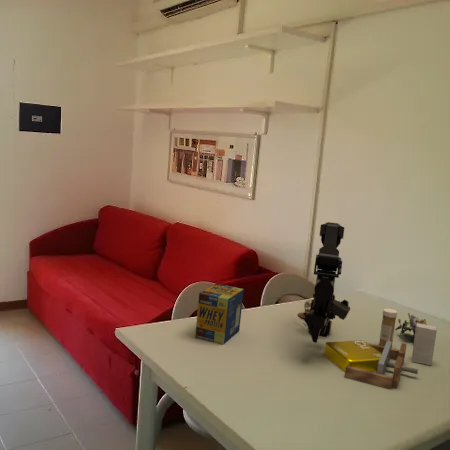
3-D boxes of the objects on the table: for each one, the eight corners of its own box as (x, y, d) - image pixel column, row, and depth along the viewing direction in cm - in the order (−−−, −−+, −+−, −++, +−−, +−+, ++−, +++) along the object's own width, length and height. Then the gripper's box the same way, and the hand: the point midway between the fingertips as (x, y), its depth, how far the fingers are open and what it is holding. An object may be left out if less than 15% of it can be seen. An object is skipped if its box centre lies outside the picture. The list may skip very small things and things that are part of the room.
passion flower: (418, 357, 180) (426, 338, 171) (388, 344, 184) (394, 325, 176) (426, 333, 186) (434, 314, 178) (397, 322, 191) (404, 303, 182)
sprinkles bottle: (394, 349, 170) (400, 311, 168) (386, 351, 167) (391, 313, 166) (383, 344, 174) (389, 307, 172) (375, 346, 171) (380, 308, 169)
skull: (335, 320, 192) (320, 301, 190) (313, 336, 192) (298, 317, 190) (326, 309, 204) (312, 291, 202) (305, 324, 204) (291, 306, 202)
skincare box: (430, 361, 162) (436, 326, 161) (431, 366, 158) (437, 330, 157) (411, 357, 164) (416, 322, 162) (411, 361, 160) (416, 326, 158)
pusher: (375, 381, 142) (378, 363, 142) (384, 356, 162) (387, 340, 161) (414, 391, 138) (417, 372, 137) (419, 364, 158) (421, 348, 157)
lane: (344, 376, 144) (347, 357, 143) (359, 349, 167) (361, 332, 166) (396, 390, 138) (399, 370, 138) (404, 360, 161) (407, 342, 160)
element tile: (321, 354, 161) (323, 340, 160) (360, 352, 166) (362, 338, 165) (347, 375, 147) (349, 359, 146) (389, 371, 152) (391, 357, 151)
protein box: (194, 338, 164) (198, 292, 161) (213, 324, 178) (216, 283, 176) (223, 345, 160) (228, 299, 158) (240, 331, 174) (244, 288, 172)
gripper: (343, 303, 145) (337, 353, 148) (355, 289, 162) (349, 335, 164) (306, 295, 150) (301, 344, 152) (321, 283, 167) (316, 327, 169)
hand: (318, 338), depth 159 cm, fingers open, 9 cm apart
